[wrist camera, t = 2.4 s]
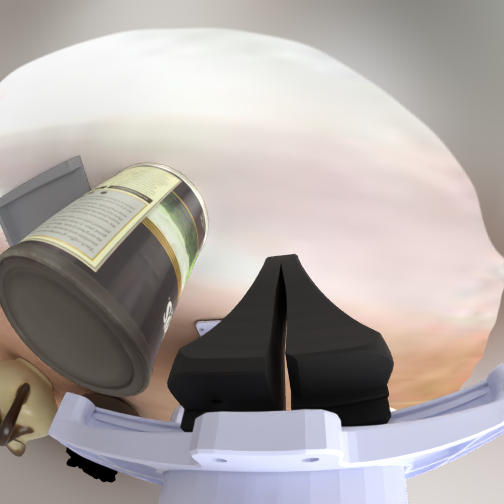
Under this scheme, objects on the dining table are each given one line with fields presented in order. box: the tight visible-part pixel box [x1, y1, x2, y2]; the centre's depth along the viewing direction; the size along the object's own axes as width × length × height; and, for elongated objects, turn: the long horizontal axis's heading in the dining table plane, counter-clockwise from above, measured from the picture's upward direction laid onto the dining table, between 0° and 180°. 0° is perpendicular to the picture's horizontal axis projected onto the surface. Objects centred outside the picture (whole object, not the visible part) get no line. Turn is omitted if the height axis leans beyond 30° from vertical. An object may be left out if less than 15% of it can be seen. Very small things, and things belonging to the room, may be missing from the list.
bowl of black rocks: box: [66, 394, 140, 482], centre depth 36 cm, size 20×20×19 cm
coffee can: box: [0, 163, 208, 397], centre depth 17 cm, size 10×10×14 cm
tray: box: [0, 156, 91, 247], centre depth 24 cm, size 15×16×2 cm
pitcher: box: [0, 357, 58, 457], centre depth 36 cm, size 22×24×25 cm
